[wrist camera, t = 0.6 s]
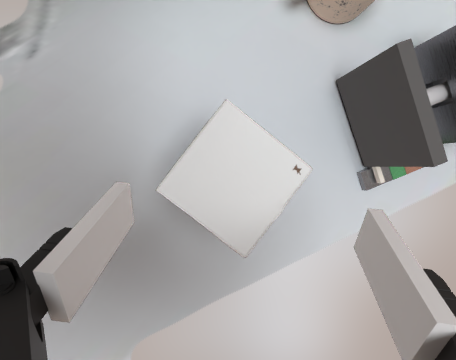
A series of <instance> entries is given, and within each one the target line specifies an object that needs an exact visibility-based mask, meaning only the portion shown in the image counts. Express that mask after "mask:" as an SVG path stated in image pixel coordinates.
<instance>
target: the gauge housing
mask: <svg viewBox="0 0 456 360" xmlns="http://www.w3.org/2000/svg"><path fill="white" fill-rule="evenodd" d="M414 50H415V53H416V57H417V60H418V63H419V67H420V70H421V73H422V77H423V80H424V83H425V87H426V89H427V88H430V87H433V86H435V85H438V84H441V83H443V82H446V81H448V84H449V88H450V91H451V94H452V98H450V99H447V100H445V101H442V102H439V103H437V104H434V105H432V106H431V107H432V110H433V113H434V117H435V120H436V123H437V127H438V130H439V133H440V137H441V140H442V143H443V144H444V143H455V142H456V26H454V27H452V28H450V29H448V30H446V31H445V32H443V33H441V34H439V35H437V36H435V37H433V38H432V39H430V40H428V41H426V42H424V43H422V44H420V45H419V46H417V47H415V48H414ZM421 168H423V167H381V170H382V174H383V177H384V180H385V182H384V183H386V182H388V181H391V180H394V179H396V178H399V177H401V176H404V175H406V174H409V173H411V172H413V171H416V170H418V169H421ZM357 175H358V178H359V181H360V184H361V187H362V190H369V189H371V188H374V187H376V186H379V185H381V184H383V183H381V184H380V183H377V181H376V178H375V175H374V172H373V169H372V167H370V168H367V169H365V170H362V171H360V172H357Z"/></svg>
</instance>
